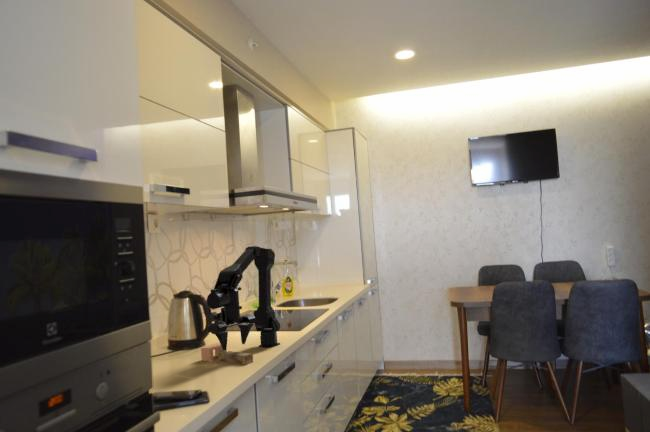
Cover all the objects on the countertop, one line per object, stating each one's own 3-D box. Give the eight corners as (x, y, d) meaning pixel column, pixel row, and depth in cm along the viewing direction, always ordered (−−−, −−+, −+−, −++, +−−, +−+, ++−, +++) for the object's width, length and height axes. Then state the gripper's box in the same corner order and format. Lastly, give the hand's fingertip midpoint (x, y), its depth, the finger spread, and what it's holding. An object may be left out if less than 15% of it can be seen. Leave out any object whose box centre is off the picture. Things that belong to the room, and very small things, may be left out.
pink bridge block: (218, 354, 184) (217, 342, 184) (226, 356, 181) (226, 343, 181) (201, 360, 178) (200, 347, 178) (210, 361, 175) (209, 348, 175)
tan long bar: (253, 362, 170) (252, 353, 170) (247, 364, 167) (246, 355, 167) (224, 358, 178) (224, 350, 178) (218, 360, 176) (217, 352, 176)
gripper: (234, 299, 185) (237, 339, 185) (196, 308, 170) (199, 351, 170) (255, 300, 179) (258, 341, 178) (217, 309, 164) (220, 354, 163)
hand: (234, 347), depth 173 cm, fingers open, 9 cm apart
